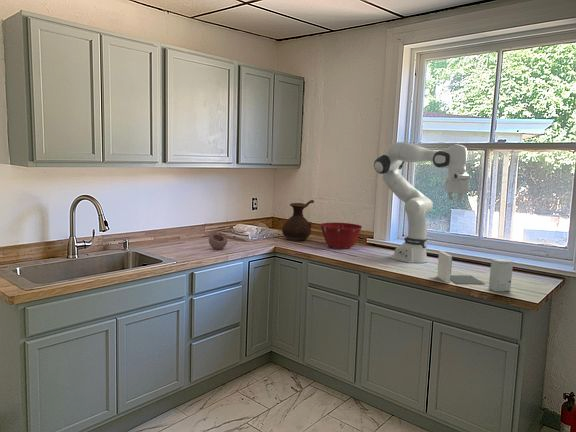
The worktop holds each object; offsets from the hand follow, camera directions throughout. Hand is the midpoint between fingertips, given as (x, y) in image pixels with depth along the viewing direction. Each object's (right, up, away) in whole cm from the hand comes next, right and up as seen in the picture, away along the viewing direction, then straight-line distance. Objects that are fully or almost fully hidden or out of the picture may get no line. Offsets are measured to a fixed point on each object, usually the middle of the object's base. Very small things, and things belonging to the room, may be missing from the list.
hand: (454, 200), depth 248 cm
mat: (+2, -42, -7) cm, 42 cm away
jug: (-83, -26, +94) cm, 128 cm away
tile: (-9, -41, -8) cm, 43 cm away
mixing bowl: (-54, -30, +70) cm, 93 cm away
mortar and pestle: (-135, -30, +52) cm, 148 cm away
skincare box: (+13, -44, -23) cm, 52 cm away
